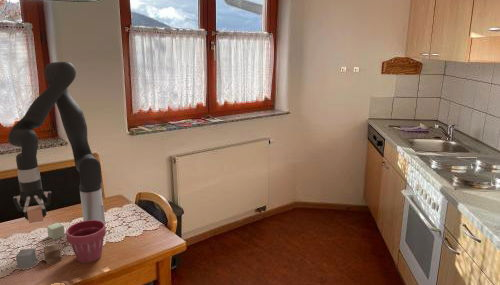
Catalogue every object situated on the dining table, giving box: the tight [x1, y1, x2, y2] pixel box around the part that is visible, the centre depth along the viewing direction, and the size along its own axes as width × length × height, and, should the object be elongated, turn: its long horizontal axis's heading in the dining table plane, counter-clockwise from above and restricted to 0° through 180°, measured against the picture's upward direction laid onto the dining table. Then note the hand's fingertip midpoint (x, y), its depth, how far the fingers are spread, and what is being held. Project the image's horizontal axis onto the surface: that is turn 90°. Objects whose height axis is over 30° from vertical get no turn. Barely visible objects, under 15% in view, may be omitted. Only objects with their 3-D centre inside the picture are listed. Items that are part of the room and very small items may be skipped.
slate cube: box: [15, 248, 37, 269], centre depth 152 cm, size 5×5×5 cm
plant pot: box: [65, 220, 107, 264], centre depth 155 cm, size 14×14×13 cm
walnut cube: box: [43, 243, 62, 265], centre depth 154 cm, size 5×5×5 cm
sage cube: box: [46, 222, 66, 241], centre depth 173 cm, size 5×5×5 cm
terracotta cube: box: [27, 204, 44, 224], centre depth 159 cm, size 5×5×5 cm
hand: (36, 218), depth 159 cm, fingers closed on terracotta cube, 5 cm apart
